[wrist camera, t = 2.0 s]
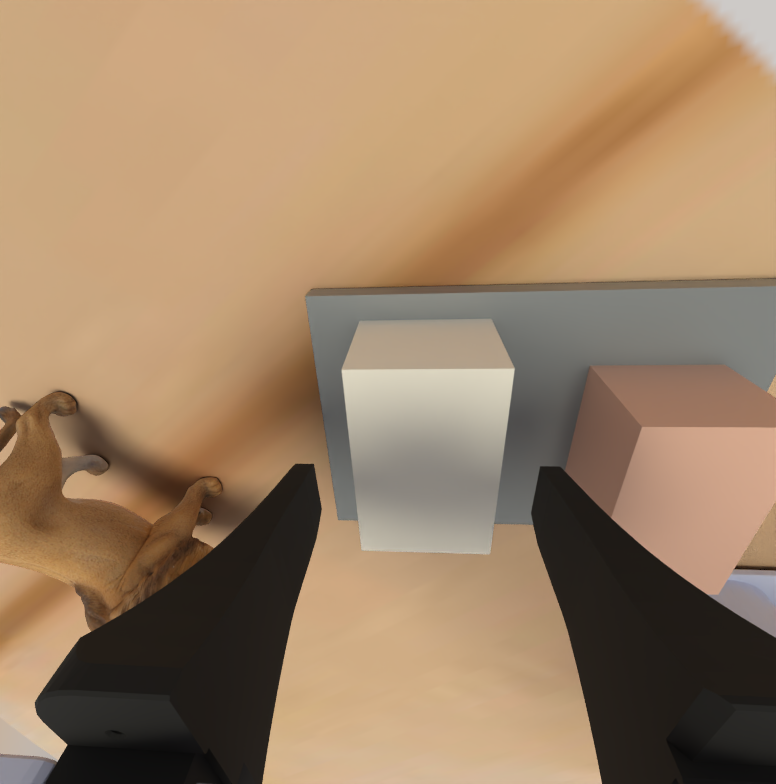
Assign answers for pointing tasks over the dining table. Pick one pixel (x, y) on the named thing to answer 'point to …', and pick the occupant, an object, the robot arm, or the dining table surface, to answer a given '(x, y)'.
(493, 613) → the dining table surface
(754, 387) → the terracotta brick
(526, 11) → the dining table surface
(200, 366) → the dining table surface
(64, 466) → the lion figurine
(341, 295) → the baseplate
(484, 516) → the cream brick
